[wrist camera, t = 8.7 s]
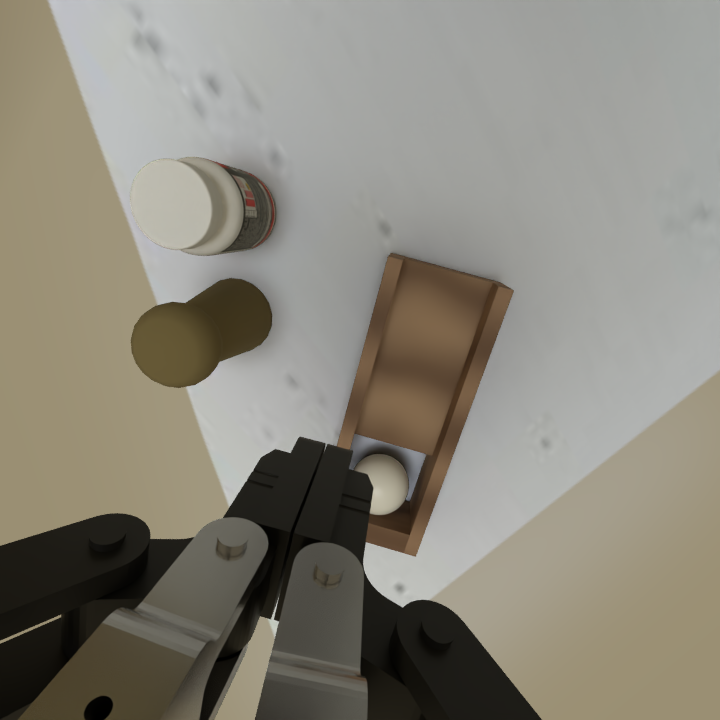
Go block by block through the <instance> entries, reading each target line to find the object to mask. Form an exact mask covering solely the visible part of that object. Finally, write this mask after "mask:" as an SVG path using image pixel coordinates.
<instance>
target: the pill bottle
mask: <svg viewBox="0 0 720 720" xmlns="http://www.w3.org/2000/svg"><path fill="white" fill-rule="evenodd" d="M130 204H131V210H132V214H133V217H134V219H135V221H136V223H137V225H138V227H139V228H140V229H141V231H142V232H143V233H144V234H145V235H146V236H147V237H148V238H149V239H150V240H151V241H153V242H154V243H156V244H158V245H160V246H162V247H165V248H168V249H173V250H181V251H183V252H186V253H188V254H192V255H198V256H210V255H217V254H224V253H231V252H238V251H245V250H249V249H252V248H255V247H257V246H258V245H260V244H261V243H263V242H264V241H265V240H266V238H267V237H268V236H269V234H270V232H271V231H272V228H273V225H274V221H275V207H274V202H273V199H272V196H271V194H270V192H269V190H268V189H267V187H266V186H265V185H264V184H263V182H262V181H260V180H259V179H258V178H257V177H255V176H254V175H252V174H250V173H248V172H245V171H242V170H239V169H236V168H233V167H230V166H227V165H224V164H220V163H217V162H214V161H211V160H208V159H204V158H199V157H186V158H181V159H178V160H174V159H159V160H155V161H153V162H151V163H149V164H147V165H146V166H144V167H143V168H142V169H141V170H140V171H139V172H138V174H137V175H136V177H135V179H134V181H133V184H132V187H131V193H130Z"/></svg>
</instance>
